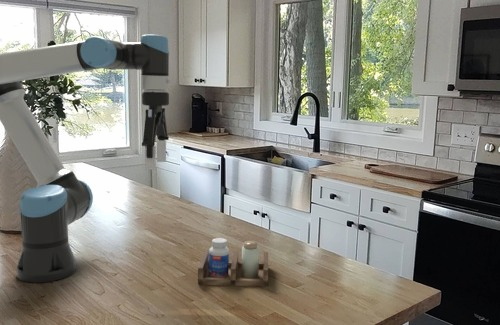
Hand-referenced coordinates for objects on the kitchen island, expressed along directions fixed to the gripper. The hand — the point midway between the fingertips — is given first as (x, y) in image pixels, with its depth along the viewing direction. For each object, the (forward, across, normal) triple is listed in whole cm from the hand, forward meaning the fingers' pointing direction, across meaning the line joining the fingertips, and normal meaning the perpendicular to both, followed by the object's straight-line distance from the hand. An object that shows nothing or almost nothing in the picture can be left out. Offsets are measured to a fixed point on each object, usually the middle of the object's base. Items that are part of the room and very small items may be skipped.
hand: (156, 165), depth 140 cm
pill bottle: (+28, -13, -20) cm, 36 cm away
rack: (+28, -13, -24) cm, 40 cm away
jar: (+27, -13, -28) cm, 41 cm away
